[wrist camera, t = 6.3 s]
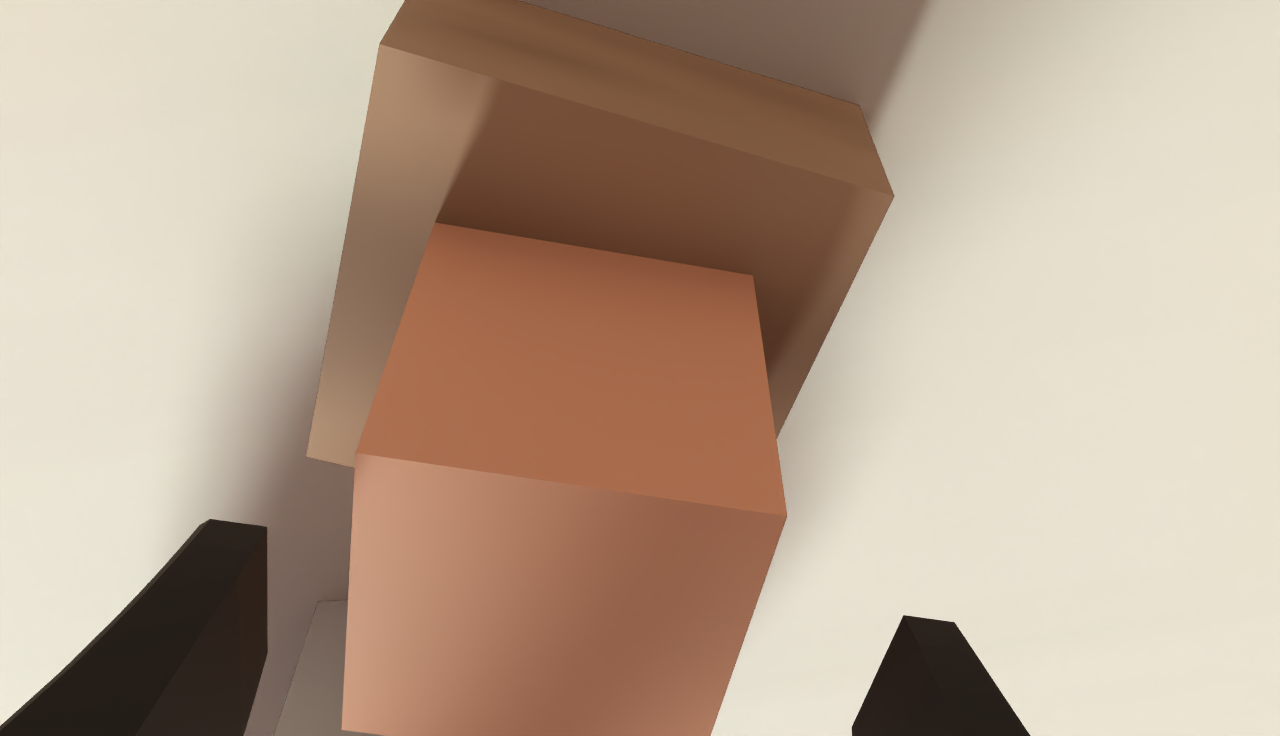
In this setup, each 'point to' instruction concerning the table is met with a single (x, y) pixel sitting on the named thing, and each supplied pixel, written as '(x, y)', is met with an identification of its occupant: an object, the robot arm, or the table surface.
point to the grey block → (319, 678)
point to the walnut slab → (592, 179)
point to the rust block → (560, 496)
